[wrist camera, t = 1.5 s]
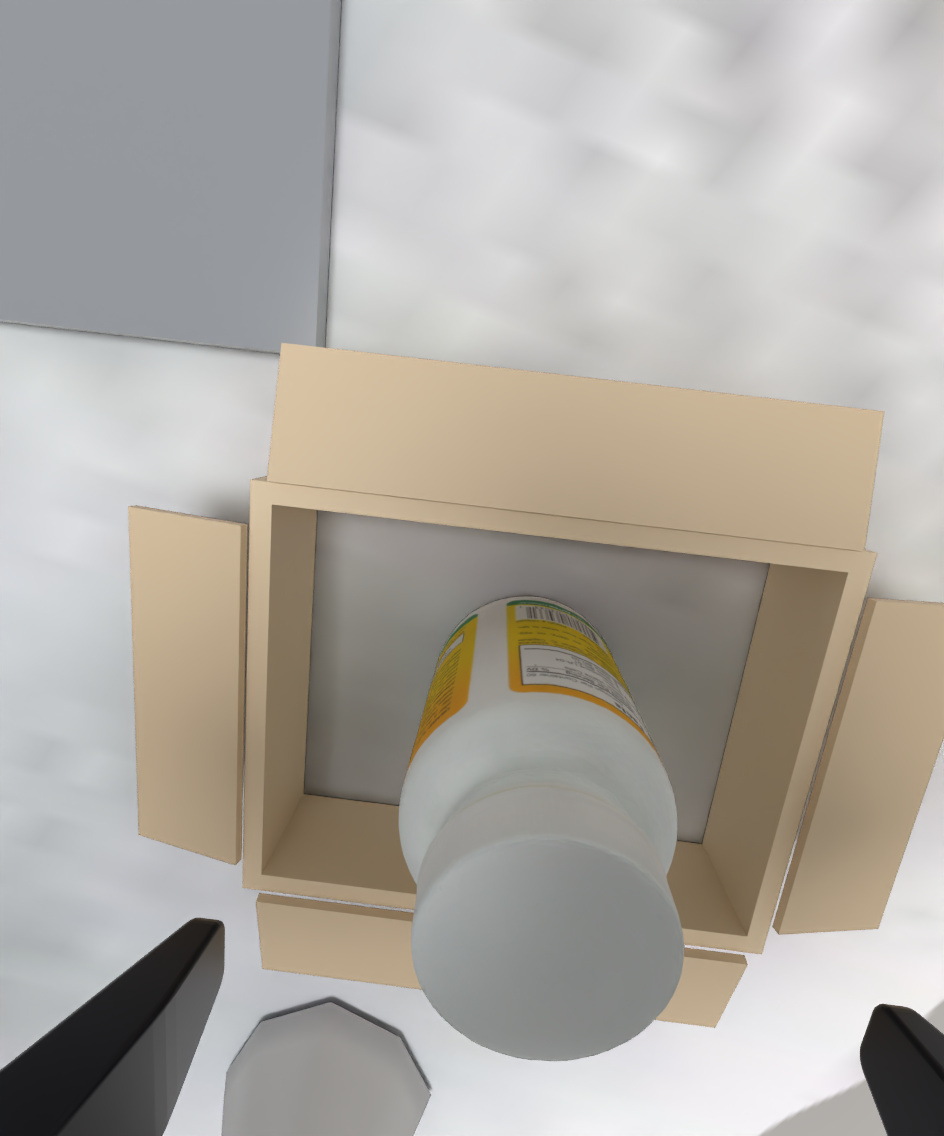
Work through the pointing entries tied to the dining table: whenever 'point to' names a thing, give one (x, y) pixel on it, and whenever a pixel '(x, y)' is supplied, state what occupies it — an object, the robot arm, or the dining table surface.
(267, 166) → the plate
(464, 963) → the supplement bottle
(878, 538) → the dining table surface
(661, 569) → the dining table surface
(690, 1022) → the carton
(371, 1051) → the flask
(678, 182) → the dining table surface
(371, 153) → the dining table surface
